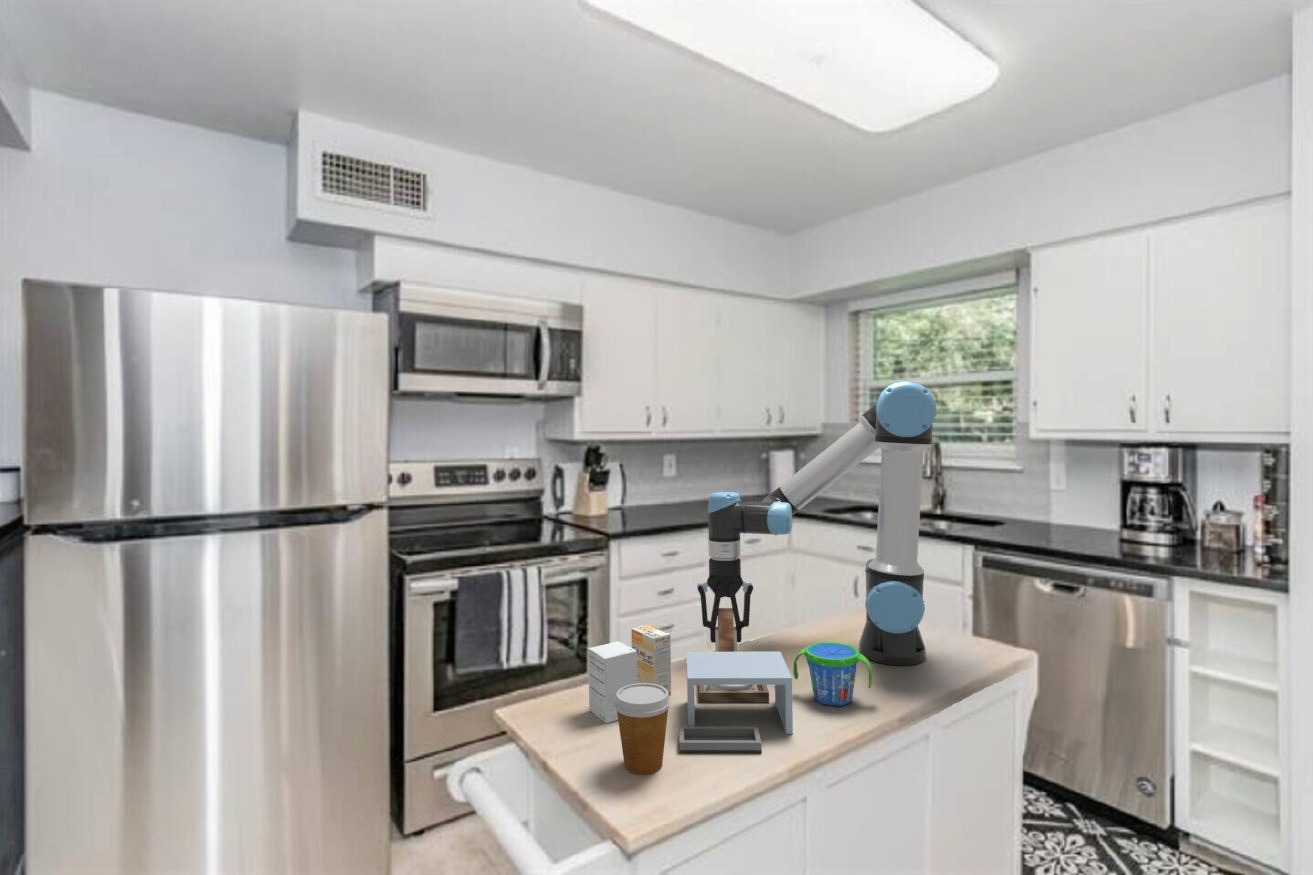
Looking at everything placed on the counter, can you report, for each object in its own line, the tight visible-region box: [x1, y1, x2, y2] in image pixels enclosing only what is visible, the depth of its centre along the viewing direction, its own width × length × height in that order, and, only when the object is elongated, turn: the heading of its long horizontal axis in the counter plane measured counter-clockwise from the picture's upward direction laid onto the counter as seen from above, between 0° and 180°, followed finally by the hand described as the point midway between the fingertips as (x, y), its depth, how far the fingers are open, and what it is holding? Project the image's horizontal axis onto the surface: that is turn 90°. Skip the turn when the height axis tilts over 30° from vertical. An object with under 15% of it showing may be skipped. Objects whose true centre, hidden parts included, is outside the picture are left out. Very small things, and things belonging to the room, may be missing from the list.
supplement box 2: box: [630, 624, 672, 696], centre depth 140 cm, size 8×5×13 cm, turn 37°
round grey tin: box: [707, 685, 757, 691], centre depth 141 cm, size 10×10×4 cm
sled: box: [697, 607, 770, 703], centre depth 147 cm, size 14×26×12 cm, turn 178°
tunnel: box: [686, 651, 794, 735], centre depth 128 cm, size 19×14×10 cm
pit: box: [678, 726, 763, 754], centre depth 117 cm, size 14×6×2 cm, turn 88°
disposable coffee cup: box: [614, 683, 672, 775], centre depth 110 cm, size 10×10×12 cm
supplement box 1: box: [587, 641, 638, 724], centre depth 131 cm, size 7×7×13 cm
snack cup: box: [792, 641, 874, 707], centre depth 135 cm, size 16×10×10 cm
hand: (726, 655), depth 159 cm, fingers closed on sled, 3 cm apart
